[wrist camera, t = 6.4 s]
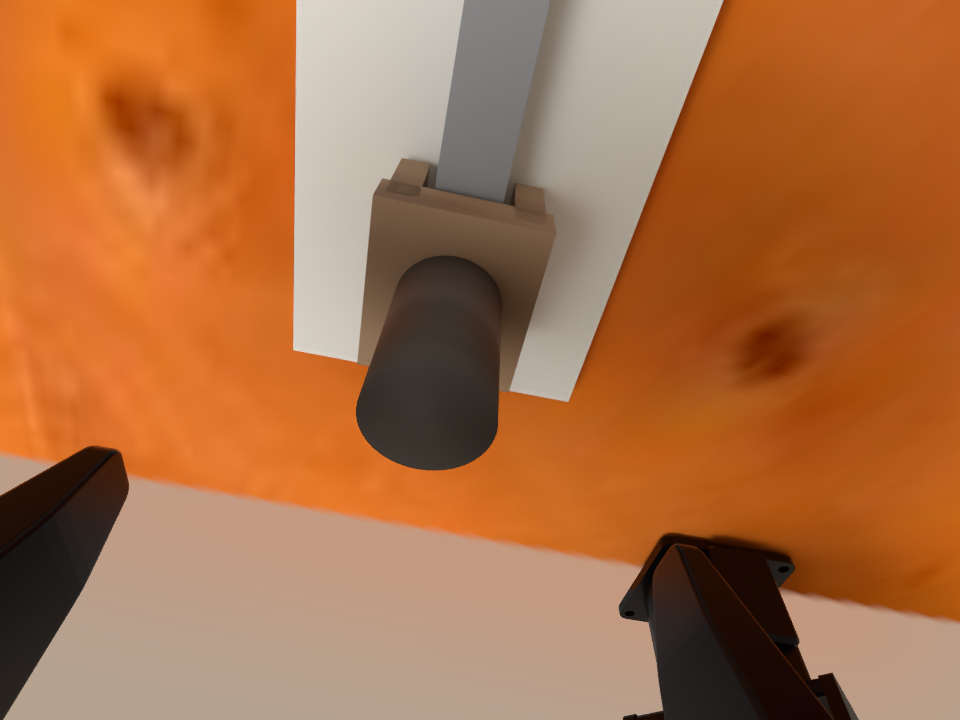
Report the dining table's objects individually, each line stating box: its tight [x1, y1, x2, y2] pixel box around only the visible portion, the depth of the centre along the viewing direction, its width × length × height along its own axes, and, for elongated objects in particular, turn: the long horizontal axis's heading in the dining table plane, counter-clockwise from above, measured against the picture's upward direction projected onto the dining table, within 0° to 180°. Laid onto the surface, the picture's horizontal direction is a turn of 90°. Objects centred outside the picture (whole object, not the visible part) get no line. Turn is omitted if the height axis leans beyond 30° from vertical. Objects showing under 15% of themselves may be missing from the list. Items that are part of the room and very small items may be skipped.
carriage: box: [356, 158, 556, 470], centre depth 14 cm, size 5×4×8 cm
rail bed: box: [293, 0, 724, 402], centre depth 13 cm, size 23×10×4 cm, turn 169°
